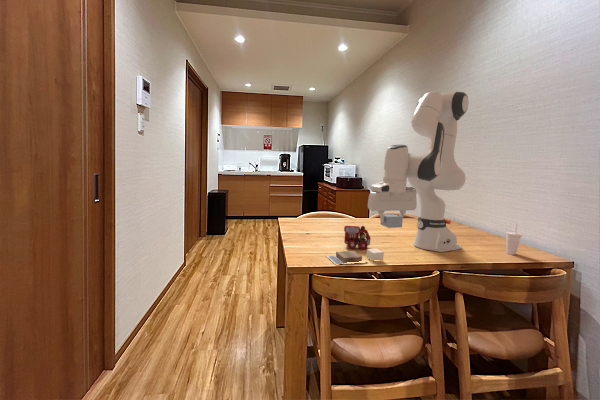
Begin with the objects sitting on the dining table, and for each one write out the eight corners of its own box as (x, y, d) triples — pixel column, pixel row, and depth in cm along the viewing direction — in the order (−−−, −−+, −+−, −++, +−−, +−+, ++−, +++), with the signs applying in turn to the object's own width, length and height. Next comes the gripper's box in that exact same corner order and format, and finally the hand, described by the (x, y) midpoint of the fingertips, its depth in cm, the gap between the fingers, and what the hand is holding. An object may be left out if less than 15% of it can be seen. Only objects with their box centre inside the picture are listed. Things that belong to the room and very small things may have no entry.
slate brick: (393, 223, 130) (394, 214, 130) (401, 227, 125) (402, 217, 124) (380, 224, 129) (381, 214, 128) (388, 227, 123) (389, 217, 122)
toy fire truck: (371, 250, 147) (372, 228, 145) (344, 249, 147) (345, 227, 145) (368, 245, 154) (369, 224, 152) (342, 244, 154) (343, 223, 152)
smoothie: (514, 256, 144) (518, 226, 142) (499, 252, 150) (503, 223, 147) (522, 254, 147) (526, 225, 145) (508, 250, 153) (512, 222, 150)
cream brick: (376, 257, 137) (377, 248, 137) (383, 261, 133) (383, 252, 132) (366, 258, 136) (366, 249, 135) (372, 262, 131) (373, 252, 130)
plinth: (353, 255, 138) (353, 250, 138) (361, 261, 130) (362, 256, 130) (335, 256, 136) (336, 251, 135) (343, 262, 128) (343, 258, 128)
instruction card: (355, 254, 140) (355, 253, 140) (367, 263, 129) (367, 262, 129) (325, 256, 136) (325, 255, 136) (335, 265, 126) (335, 264, 125)
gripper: (411, 186, 130) (408, 219, 132) (367, 185, 124) (364, 220, 126) (421, 187, 124) (418, 222, 126) (375, 187, 118) (372, 224, 120)
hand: (391, 221), depth 126 cm, fingers closed on slate brick, 6 cm apart
